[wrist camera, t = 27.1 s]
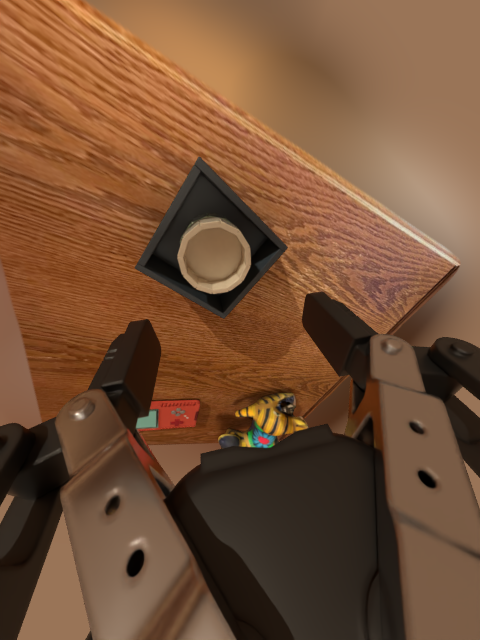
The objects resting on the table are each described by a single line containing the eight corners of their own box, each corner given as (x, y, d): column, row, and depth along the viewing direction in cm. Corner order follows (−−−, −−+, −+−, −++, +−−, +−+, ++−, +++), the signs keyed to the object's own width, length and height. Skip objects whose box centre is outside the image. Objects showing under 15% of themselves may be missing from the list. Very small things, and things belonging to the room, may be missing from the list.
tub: (198, 160, 17) (199, 156, 13) (272, 236, 22) (288, 247, 19) (144, 252, 21) (134, 268, 17) (219, 299, 26) (224, 319, 22)
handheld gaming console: (194, 428, 42) (117, 433, 38) (194, 422, 43) (119, 427, 39) (200, 404, 37) (112, 408, 33) (200, 399, 38) (114, 402, 34)
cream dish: (192, 203, 16) (191, 206, 14) (256, 235, 19) (263, 241, 17) (172, 270, 19) (169, 280, 17) (229, 290, 22) (233, 301, 20)
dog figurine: (285, 374, 46) (211, 389, 41) (317, 418, 35) (223, 444, 31) (277, 430, 54) (215, 447, 50) (301, 479, 44) (225, 507, 39)
